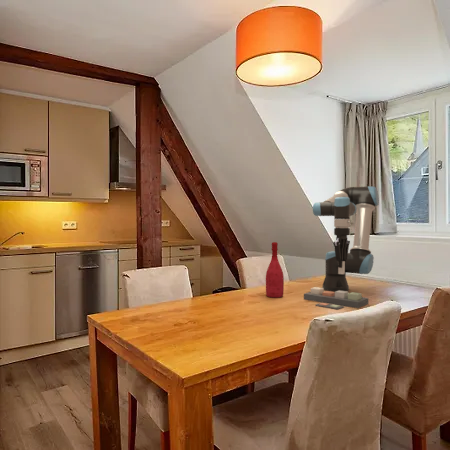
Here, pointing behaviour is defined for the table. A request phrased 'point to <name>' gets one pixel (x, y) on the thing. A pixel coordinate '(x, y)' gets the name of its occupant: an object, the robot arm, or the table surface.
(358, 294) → the key sage
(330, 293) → the key terracotta
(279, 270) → the wine bottle
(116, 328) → the table surface
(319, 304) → the placard
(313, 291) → the key ivory
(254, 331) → the table surface
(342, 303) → the keypad
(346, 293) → the key beige
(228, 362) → the table surface
